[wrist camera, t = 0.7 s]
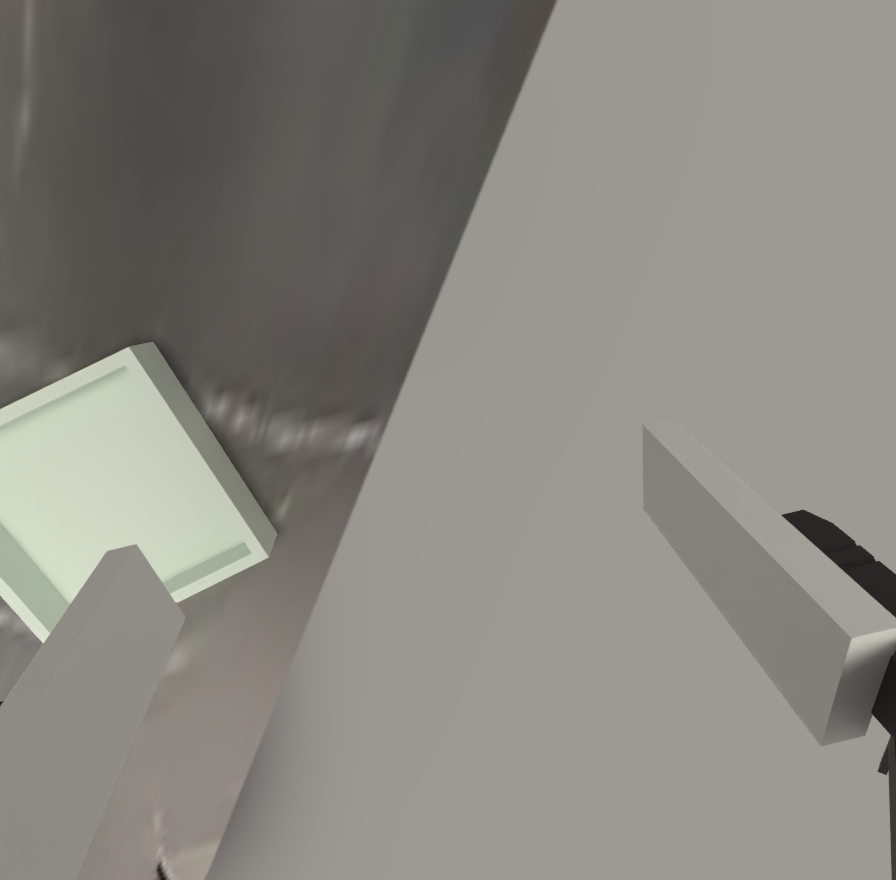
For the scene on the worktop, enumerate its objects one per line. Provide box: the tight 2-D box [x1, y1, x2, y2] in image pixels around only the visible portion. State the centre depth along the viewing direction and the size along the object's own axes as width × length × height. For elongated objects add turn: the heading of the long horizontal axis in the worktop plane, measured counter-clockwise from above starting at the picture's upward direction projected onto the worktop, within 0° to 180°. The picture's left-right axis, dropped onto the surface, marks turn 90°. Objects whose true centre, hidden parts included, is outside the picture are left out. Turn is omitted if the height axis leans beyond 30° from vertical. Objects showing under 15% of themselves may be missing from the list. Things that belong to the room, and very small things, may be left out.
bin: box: [0, 342, 278, 643], centre depth 34 cm, size 16×16×4 cm
